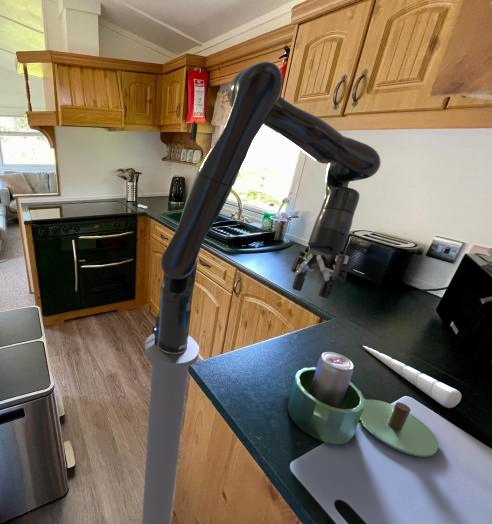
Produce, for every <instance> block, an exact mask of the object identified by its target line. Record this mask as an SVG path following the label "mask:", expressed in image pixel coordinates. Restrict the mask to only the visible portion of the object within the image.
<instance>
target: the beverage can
mask: <svg viewBox="0 0 492 524" xmlns="http://www.w3.org/2000/svg"><path fill="white" fill-rule="evenodd" d="M316 368H317V369H316V372H315V375H314V379H313V382H312V385H311V388H310V392H309V394H310V395H311V396H313V397H314V398H315V399H317V400H318V401H320V402H322V403H324V404H326V405H329V406H331V407H335V408H339V409H340V407H341V405H342V402H343V399H344V396H345V393H346V391H347V388H348V385H349V382H351V379H352V376H353V374H354V363H353V362H352V361H351V359H349V358H348V357H346V356H345V355H342V354H341V353H338V352H333V351H325V352H323V353H322V354H321V355H320V357H319V359H318V362H317V365H316Z"/></svg>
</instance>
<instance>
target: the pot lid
mask: <svg viewBox="0 0 492 524" xmlns="http://www.w3.org/2000/svg"><path fill="white" fill-rule="evenodd" d="M410 412H411V408H410V407H409V405H407V404H405V403H403V402H399V401H398V402H395V404H392V403H389V402H386V401H382V400H378V399H365V406H364V410H363V412H362V415H361V417H360V420H359V422H360V423H361V424H362V426H363V427H364V428H365V429H366V430H367V431H368V432H369V433H370V434H372V435H373V436H374V437H375V438H376V439H377V440H379V441H381V442H382V443H383V444H385V445H387V446H389V447H391V448H393V449H395V450H397V451H399V452H401V453H403V454H406V455H409V456H414V457H421V458H425V457H426V458H428V457H432V456H434V455H435V454H436V453H437V452H438V450H439V442H438V439H437V437H436V435H435V434H434V433H433V431H432V430H431V429H430V428H429V427H428V426H427V425H426V424H425V423H424V422H422V421H421V419H419V418H417V417H416V416H415V415H413V414H412V413H410Z"/></svg>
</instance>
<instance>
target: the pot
mask: <svg viewBox="0 0 492 524" xmlns="http://www.w3.org/2000/svg"><path fill="white" fill-rule="evenodd" d="M316 369H317V367H304V368H302V369H300V370H298V371H297V372H296V374H295V377H294V380H293V384H292V386H291V391H290V394H289V398H288V401H287V412H288V415H289V416H290V418H291V420H292V422H294V423H295V425H296V426H297V427H298V428H299V429H301V430H302V431H303V432H304V433H306V434H307V435H309V436H311V437H312V438H314V439H316V440H318V441H321V442H324V443H326V444H330V445H331V444H332V445H343V444H346V443H348V442H350V441H351V440H352V439H353V437H354V435H355V433H356V429H357V428H358V425H359V422H360V417H361V415H362V412H363V410H364V406H365V400H366V398H365V397H364V395H363V393H362V392H361V390H360V389H359V388H358V387H357V386H356V385H355V384H354V383H352V381H350V382H349V385H348V388H347V391H346V393H345V396H344V399H343V402H342V405H341V407H340V409H339V408H335V407H331V406H329V405H326V404H324V403H322V402H320V401H318V400H317V399H315V398H314V397H313V396H311V395H310V394H309V392H310V388H311V385H312V382H313V379H314V375H315V372H316Z"/></svg>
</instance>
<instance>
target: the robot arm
mask: <svg viewBox="0 0 492 524" xmlns="http://www.w3.org/2000/svg"><path fill="white" fill-rule="evenodd" d="M282 88H283V74H282V72H281V69H280V68H279V66H277V64H276V63H273V62H271V61H261V62H257V63H254V64H252V65H250V66H248V67H246V68H244V69H242V70H240V71H239V72H237V74H235V75H234V76H233V78H232V79H231V81H230V82H229V85H228V88H227V100H228V103H229V106H230V107H231V110H230V113H229V115H228V118H227V120H226V123H225V125H224V128H223V129H222V132H221V133H220V135H219V136H218V138H217V139H216V141H215V142H214V144H213V145H212V147H211V148H210V149H209V151H208V152H207V154H206V155H205V157H204V159H202V162H201V164H200V166H199V167H198V170H197V172H196V173H195V177H194V178H193V182H192V183H191V186H190V188H189V189H190V190H189V192H188V195H187V197H186V200H185V202H184V206H183V208H182V209H183V210H182V213H181V216H180V220H179V223H178V224H177V227H176V229H175V231H174V233H173V235H172V237H171V239H170V241H169V242H168V244H167V246H166V248H165V249H164V251H163V253H162V255H161V258H160V266H161V270H162V272H163V277H162V282H161V285H160V297H159V312H158V313H159V314H158V315H157V316H156V317H155V324H154V325H152V329H151V330H152V333H151V334H153V333H154V335H155V342H154V344H155V345H157V347H158V349H159V350H160V351H162V352H163V353H165V354H169V355H180V354H182V353H184V352H185V351H186V350H187V344H188V335H189V334H190V333H189V332H190V324H191V315H192V305H193V297H194V291H195V290H194V289H195V286H196V285H195V283H196V275H197V269H198V257H199V254H200V251H201V248H202V245H203V243H204V240H205V238H206V236H207V235H208V232H209V231H210V230H211V228H212V226H213V225H214V223H215V222H216V220H217V218H218V217H219V215H220V213H221V211H222V209H223V208H224V205H225V204H226V202H227V200H228V198H229V196H230V194H231V192H232V190H233V188H234V186H235V183H236V182H237V179H238V176H239V175H240V172H241V170H242V168H243V166H244V164H245V161H246V159H247V157H248V155H249V152H250V150H251V148H252V146H253V144H254V142H255V141H256V139H257V137H258V134H260V131H261V130H262V128H263V126H266V127H267V128H269V129H271V130H273V131H274V132H276V134H279V135H280V136H282V137H283V138H284V139H286V140H287V141H289V142H290V144H293V145H294V146H295V147H297V148H298V149H299V150H301V151H302V152H303V153H304V154H306V155H307V156H309V157H310V158H311V159H313V160H314V161H315V162H317V163H319V164H323V165H325V164H328V165H327V168H326V174H325V196H324V199H323V200H322V201H323V202H322V204H321V206H320V207H321V208H320V210H319V213H318V215H317V217H316V219H315V221H314V224H313V227H312V230H311V233H310V236H309V239H308V243H307V245H308V248H309V249H308V251H307V252H306V251H303V250H298V251H297V253H296V256H295V258H294V261H293V264H292V266H291V268H290V271H291V272H292V273H294V274H295V277H294V280H293V282H292V289H293V290H295V291H297V292H301V291H302V289H303V287H304V283H305V280H306V277H307V276H308V275H309V274H310V273H313V272H314V271H316V272H319V271H320V272H321V274H322V275H323V278H324V280H323V281H322V283H321V286H320V289H319V292H318V297H319V298H323V299H328V298H330V296H332V292H333V289H334V287H335V284H337V283H344V282H345V281H346V279H347V275H348V272H349V268H350V265H351V262H352V258H351V257H350V256H348V255H345V254H342V253H343V252H344V250H345V246H346V243H347V240H348V237H349V235H350V232H351V229H352V225H353V219H354V217H355V213H356V210H357V208H358V205H359V201H360V196H361V195H360V192H359V191H358V190H356V189H354V188H351V187H349V185H350V182H354V181H356V182H357V181H361V180H366V179H368V178H371V177H373V176H374V175H376V174H377V172H378V171H379V170H380V167H381V157H380V154H379V152H378V151H377V150H375V149H374V148H373V147H372V146H370V145H368V144H366V143H364V142H361V141H359V140H356V139H354V138H351V137H347V136H344V135H343V134H342V133H340V132H339V130H337V129H336V128H335V127H333V126H331V125H330V124H329V123H328V122H326V121H325V120H323V119H321V118H320V117H318V116H316V115H314V114H312V113H310V112H308V111H305V110H304V109H301V108H299V107H298V106H295V105H293V104H292V103H291V102H289V101H288V100H286V99H285V98H284V97H282V96H281V92H282V90H283V89H282Z"/></svg>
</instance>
